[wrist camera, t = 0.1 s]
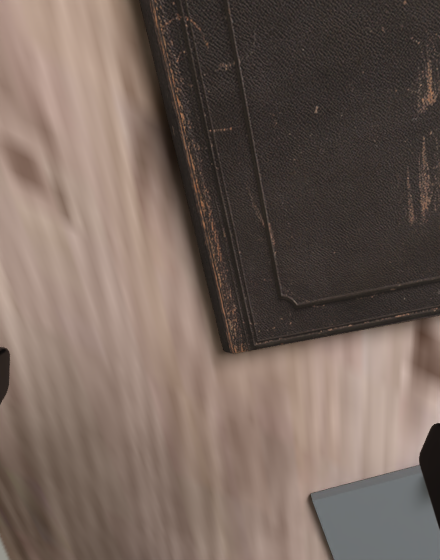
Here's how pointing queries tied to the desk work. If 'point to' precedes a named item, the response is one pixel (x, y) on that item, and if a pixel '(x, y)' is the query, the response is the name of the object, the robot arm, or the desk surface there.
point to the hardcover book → (306, 159)
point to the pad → (380, 518)
